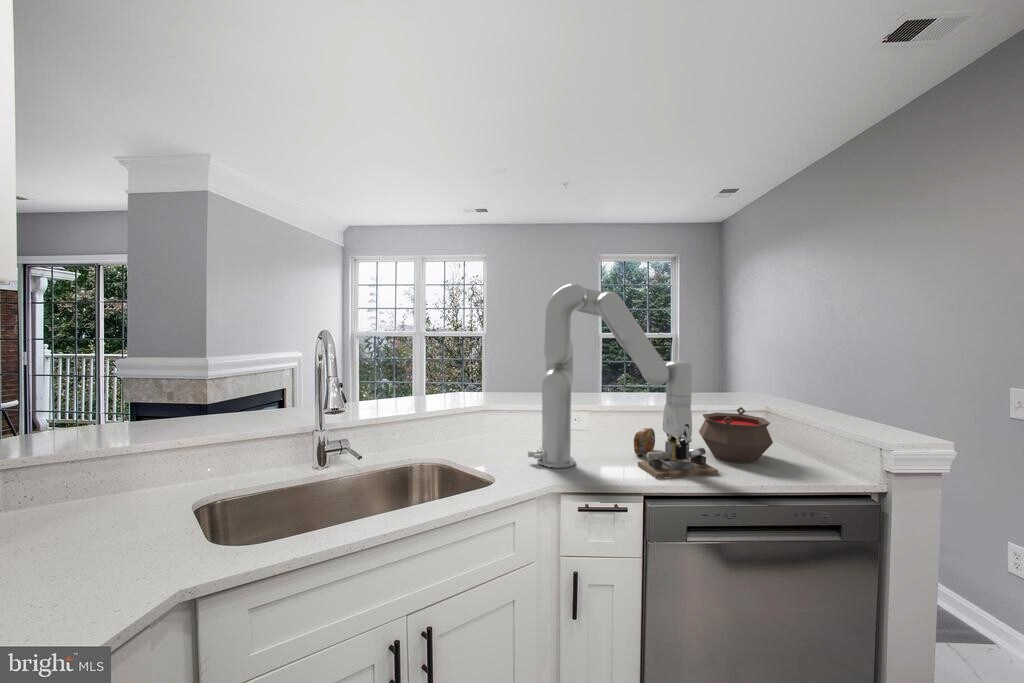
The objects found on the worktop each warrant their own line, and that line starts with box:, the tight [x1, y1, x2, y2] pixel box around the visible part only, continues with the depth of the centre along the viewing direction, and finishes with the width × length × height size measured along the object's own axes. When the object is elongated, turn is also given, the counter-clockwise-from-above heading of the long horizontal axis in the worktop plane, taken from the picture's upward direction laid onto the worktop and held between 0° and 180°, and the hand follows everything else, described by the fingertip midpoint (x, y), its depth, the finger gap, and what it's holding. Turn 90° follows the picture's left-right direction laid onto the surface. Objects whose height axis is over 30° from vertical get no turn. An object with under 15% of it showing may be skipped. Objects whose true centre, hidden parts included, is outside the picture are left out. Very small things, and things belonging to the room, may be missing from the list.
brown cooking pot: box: [698, 406, 774, 464], centre depth 160 cm, size 24×24×16 cm
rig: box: [637, 451, 719, 479], centre depth 145 cm, size 21×12×6 cm, turn 101°
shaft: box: [689, 447, 707, 465], centre depth 147 cm, size 6×4×5 cm, turn 121°
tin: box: [633, 427, 656, 457], centre depth 164 cm, size 15×3×8 cm, turn 143°
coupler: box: [664, 440, 690, 461], centre depth 145 cm, size 6×4×5 cm, turn 101°
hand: (676, 456), depth 145 cm, fingers closed on coupler, 4 cm apart
